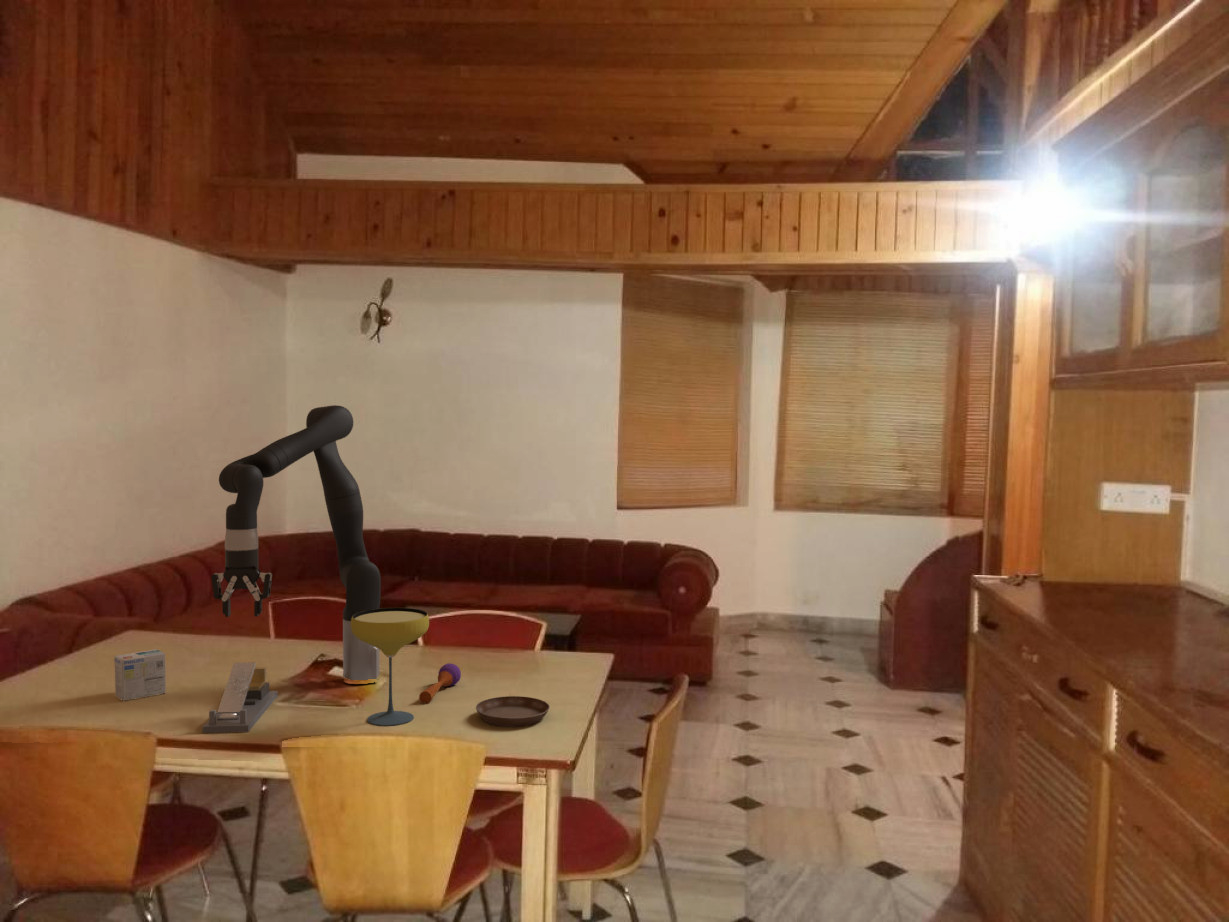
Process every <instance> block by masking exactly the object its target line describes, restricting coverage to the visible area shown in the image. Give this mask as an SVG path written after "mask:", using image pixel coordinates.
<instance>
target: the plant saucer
mask: <svg viewBox="0 0 1229 922" xmlns="http://www.w3.org/2000/svg"><path fill="white" fill-rule="evenodd" d="M475 709H476V712H477V713H478V715H479V717H481V719H482V720H483V721H485V722H486V723H487V724H490V725H494V726H498V727H507V728H508V727H524V726H529V725H533V724H536V723H538V722H540V721H541V720H543V718H544V717H545V716H546V715H547V713H548V712H549V710H550V704H549V703H548V702H546V701H545V700H542V699H539V698H535V697H530V696H522V695H521V696H520V695H519V696H518V695H517V696H515V695H514V696H513V695H509V696H507V695H506V696H497V697H492V698H488V699H484V700H482V701H480V702H478V703H477V704H476V706H475Z"/></svg>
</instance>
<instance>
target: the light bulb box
mask: <svg viewBox="0 0 1229 922" xmlns="http://www.w3.org/2000/svg"><path fill="white" fill-rule="evenodd" d="M114 680H115V681H114V687H115V689H114V691H115V697H116V696H117V697H119V698H120V699H122V700H129V699H134V700H136V699H135V698H139V699H141V698H140V697H145V698H148V697H147V696H150V697H152V696H151V695H155V696H158V695H157V694H161V695H164V694H163V693H165V694H166V693H167V687H166V653H165V652H164V651H161V650H159V649H157V648H154V649H150V650H149V649H148V650H143V651H136V652H130V653H125V654H119V655H118V654H117V655H114ZM117 697H116V698H117ZM120 699H119V700H120ZM129 701H130V700H129Z"/></svg>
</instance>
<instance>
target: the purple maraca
mask: <svg viewBox="0 0 1229 922" xmlns="http://www.w3.org/2000/svg"><path fill="white" fill-rule="evenodd" d="M461 672H462V671H461V670H460V667H459V666H458V665H456V664H454V663H445V664H444V665H442V667H440V669H439V670H438V673H437V674H438V676H437V682H436V683H434V684H433V685H431V686H429V687H428V688H427V689H424V690H422V691H421V692H420V693H419V697H418V699H419V700H420V702H421V703H422V704H429V703H431V702H432V701H433V699H434V697H435V696H436V694H437V693H438V691H439V690H440V689H441V687H453V686H455V685H457V684H458V683H459V682H460V679H461V677H462V674H461Z"/></svg>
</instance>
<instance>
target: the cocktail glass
mask: <svg viewBox="0 0 1229 922" xmlns="http://www.w3.org/2000/svg"><path fill="white" fill-rule="evenodd" d="M429 627H430V617H429V614H428V611H425V610H422V609H418V608H409V607H384V608H383V607H382V608H379V609H372V610H366V611H362V612H359V613H356V614H354V615H353V616H352V619H351V629H352V633H353V634H354V635H355V636H356V637H357V638H358V639H360V640H361V641H363V642H365V643H368V644H370V645H372V646H375V647H377V648H379V651H381V652H382V653H383V655H385V657H387V658H388V661H389V662H388V671H389V672H388V705H387V710H386V711H385V710H384V711H380V712H377V713H373V714H371V715H370V716H368V717H367V718H366V721H367V722H368V723H369V724H370V725H374V726H378V727H392V726H395V727H396V726H400V725H405V724H408V723H410V722H411V721H413V719H414V714H413V713H411V712H409V711H408V712H407V711H404V710H402V711H401V710H395V709H394V705H393V676H392V675H393V673H392V672H393V671H392V670H393V658H394V657H395V656H396V655H397V654H398V652H399V651H400V650H401V649H402V648H404V647H405V646H407V645H410V644H411V643H413V642H415V641H417V640H418V639H420V638H421V637H423V636H424V635H425V634H426V633H427V631H428V629H429Z"/></svg>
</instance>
